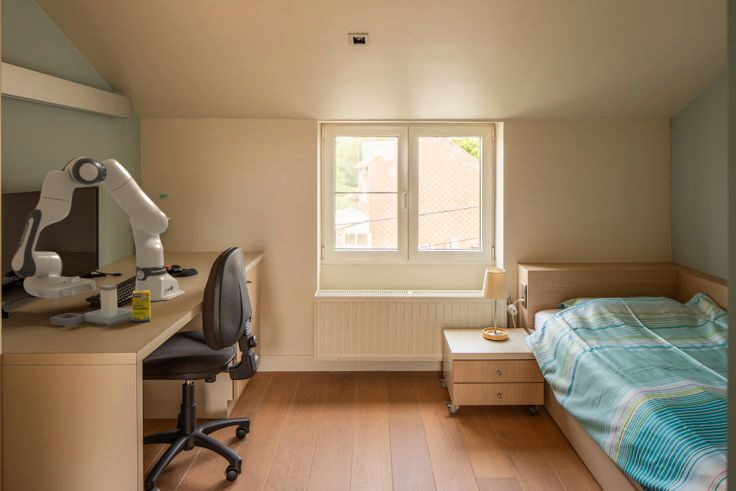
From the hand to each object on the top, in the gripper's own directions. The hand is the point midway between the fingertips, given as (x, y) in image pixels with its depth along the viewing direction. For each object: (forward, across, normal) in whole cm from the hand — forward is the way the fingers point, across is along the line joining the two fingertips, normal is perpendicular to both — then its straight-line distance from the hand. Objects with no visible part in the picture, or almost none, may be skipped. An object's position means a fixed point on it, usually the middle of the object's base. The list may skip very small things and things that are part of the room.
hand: (84, 290), depth 237 cm
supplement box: (+23, +5, +10) cm, 26 cm away
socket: (+2, -9, +10) cm, 13 cm away
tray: (+12, 0, +10) cm, 16 cm away
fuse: (+12, 0, +9) cm, 15 cm away
